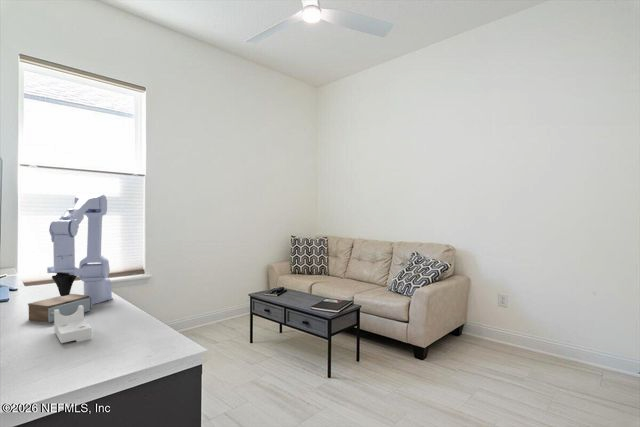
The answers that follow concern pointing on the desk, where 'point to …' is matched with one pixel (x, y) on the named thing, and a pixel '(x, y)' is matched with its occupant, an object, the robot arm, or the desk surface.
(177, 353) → the desk surface
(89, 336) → the bracket
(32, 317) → the cabinet
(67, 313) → the door
